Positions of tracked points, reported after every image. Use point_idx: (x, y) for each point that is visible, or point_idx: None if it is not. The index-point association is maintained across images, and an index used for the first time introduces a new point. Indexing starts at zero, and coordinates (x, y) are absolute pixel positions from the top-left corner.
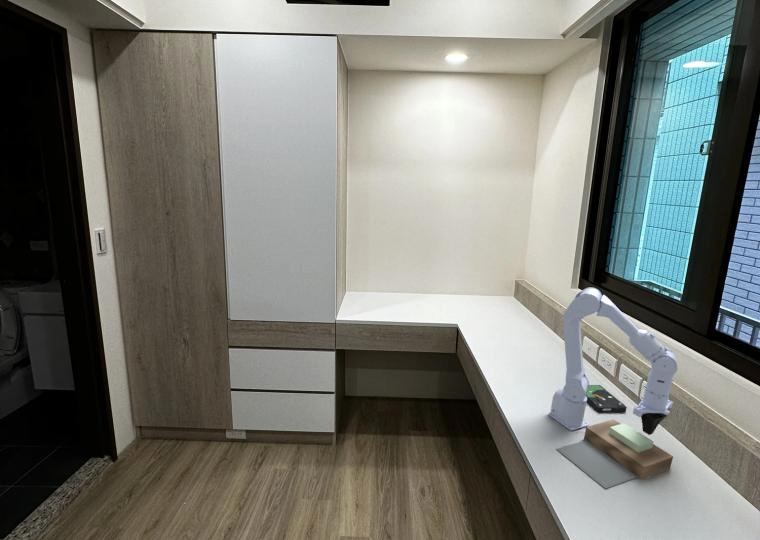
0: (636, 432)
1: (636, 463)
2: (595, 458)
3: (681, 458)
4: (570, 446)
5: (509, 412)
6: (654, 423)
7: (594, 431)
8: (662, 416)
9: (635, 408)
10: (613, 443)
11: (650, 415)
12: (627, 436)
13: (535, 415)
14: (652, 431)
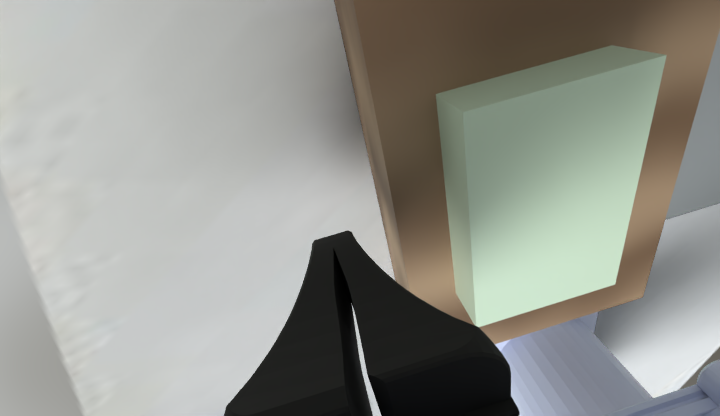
0: (492, 235)
1: None
2: (703, 105)
3: (116, 61)
4: (712, 197)
5: (691, 368)
6: (397, 301)
7: (642, 265)
8: (349, 405)
9: None
10: (663, 159)
11: (501, 401)
12: (615, 189)
13: (625, 364)
14: (337, 249)
